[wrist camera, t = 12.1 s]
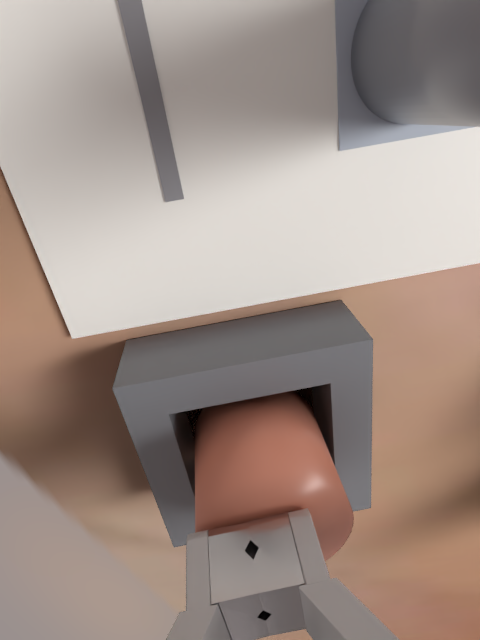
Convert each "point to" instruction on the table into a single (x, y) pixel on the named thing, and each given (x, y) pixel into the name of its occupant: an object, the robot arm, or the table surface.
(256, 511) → the button
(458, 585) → the table surface
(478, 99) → the marker teal
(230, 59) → the paper
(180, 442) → the button housing
